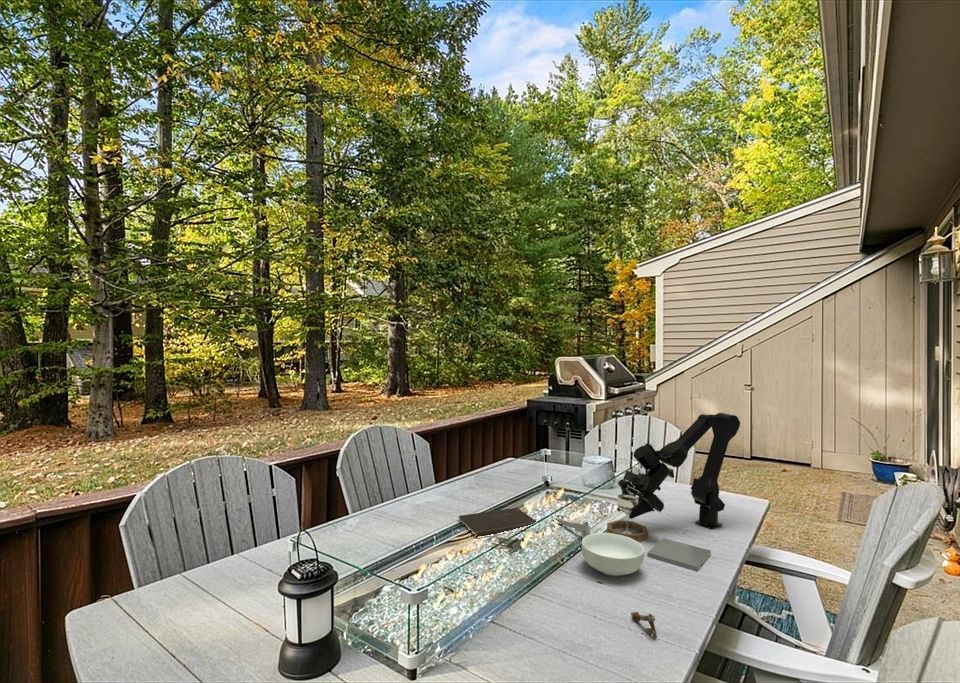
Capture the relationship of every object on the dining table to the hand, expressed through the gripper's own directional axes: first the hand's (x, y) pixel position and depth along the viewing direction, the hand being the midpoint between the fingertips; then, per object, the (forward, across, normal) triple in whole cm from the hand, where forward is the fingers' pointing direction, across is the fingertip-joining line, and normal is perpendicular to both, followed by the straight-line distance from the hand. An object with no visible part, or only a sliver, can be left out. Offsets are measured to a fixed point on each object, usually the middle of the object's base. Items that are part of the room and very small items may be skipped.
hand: (623, 514), depth 163 cm
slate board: (0, +18, +10) cm, 21 cm away
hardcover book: (+31, -18, -21) cm, 42 cm away
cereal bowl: (+17, +21, -7) cm, 28 cm away
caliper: (+16, -7, -6) cm, 19 cm away
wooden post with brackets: (+23, +47, -13) cm, 54 cm away
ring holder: (+4, 0, +6) cm, 7 cm away
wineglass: (+4, 0, +6) cm, 7 cm away
